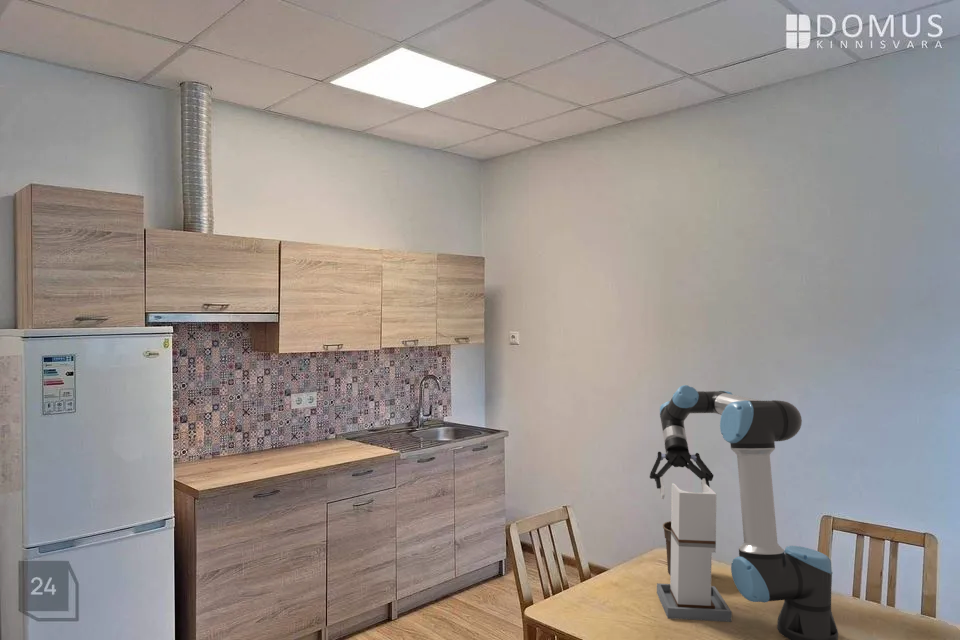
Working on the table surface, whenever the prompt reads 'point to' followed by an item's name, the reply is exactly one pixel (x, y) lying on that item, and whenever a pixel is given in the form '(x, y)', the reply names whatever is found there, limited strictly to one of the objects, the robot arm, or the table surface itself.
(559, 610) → the table surface
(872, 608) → the table surface
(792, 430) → the robot arm
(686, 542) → the brown-banded white pillar
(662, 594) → the tray
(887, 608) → the table surface
